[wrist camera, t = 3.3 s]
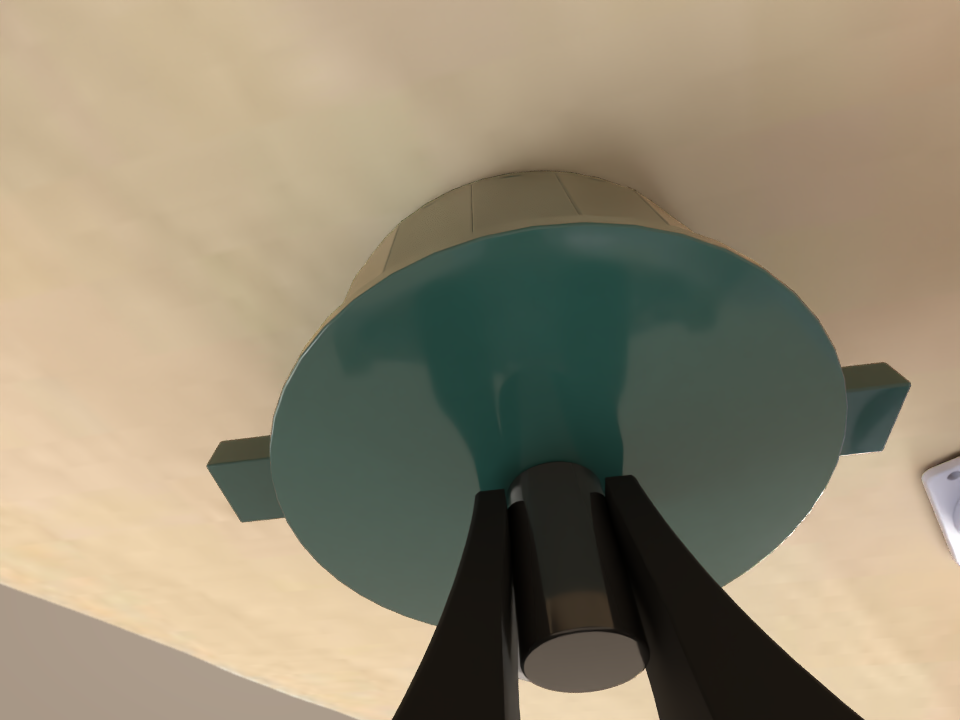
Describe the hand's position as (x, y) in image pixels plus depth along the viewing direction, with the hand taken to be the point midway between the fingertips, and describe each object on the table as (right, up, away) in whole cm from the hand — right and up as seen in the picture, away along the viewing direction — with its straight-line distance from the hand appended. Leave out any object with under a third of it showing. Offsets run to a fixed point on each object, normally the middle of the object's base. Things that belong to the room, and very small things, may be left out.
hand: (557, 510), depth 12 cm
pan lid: (0, +1, +1) cm, 1 cm away
